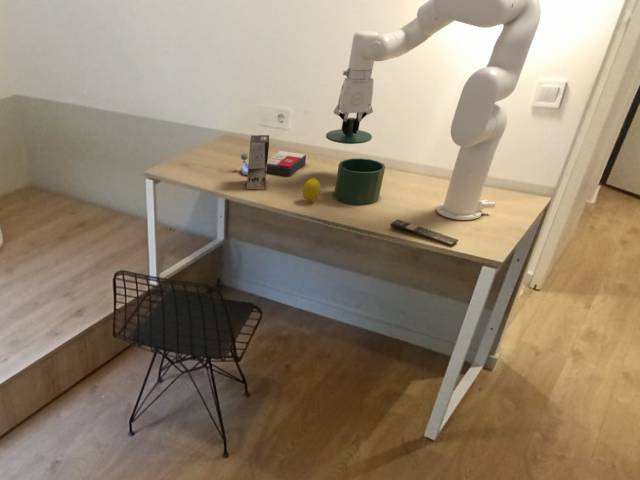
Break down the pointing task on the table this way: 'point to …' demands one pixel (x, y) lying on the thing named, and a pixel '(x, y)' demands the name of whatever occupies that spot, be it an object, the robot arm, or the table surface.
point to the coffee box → (258, 161)
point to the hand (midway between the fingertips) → (349, 132)
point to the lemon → (311, 190)
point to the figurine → (245, 167)
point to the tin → (359, 181)
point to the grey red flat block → (285, 163)
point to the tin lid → (349, 135)
